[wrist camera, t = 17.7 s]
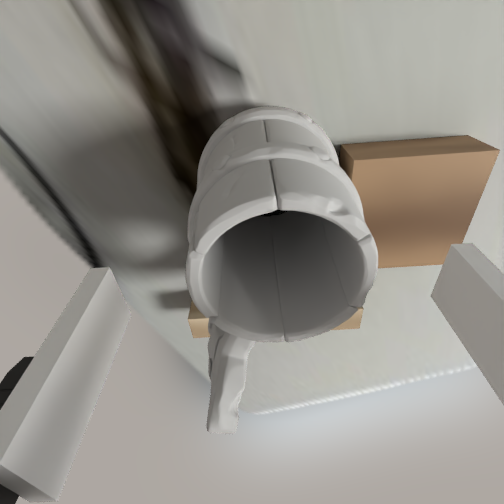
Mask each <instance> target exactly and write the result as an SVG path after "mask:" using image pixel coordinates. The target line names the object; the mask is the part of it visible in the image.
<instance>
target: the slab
mask: <svg viewBox="0 0 504 504" xmlns="http://www.w3.org/2000/svg"><path fill="white" fill-rule="evenodd" d="M499 151H500V150H499V149H496V148H494V147H492V146H490V145H488V144H486V143H483V142H481V141H479V140H477V139H475V138H473V137H471V136H468V135H464V136H451V137H437V138H423V139H409V140H396V141H382V142H368V143H354V144H341V149H340V159H339V166H340V167H341V168H342V169H343V170H344V172H345V173H346V174H347V175H348V177H349V178H350V180H351V181H352V183H353V184H354V186H355V188H356V190H357V192H358V194H359V197H360V200H361V203H362V208H363V215H364V221H365V223H366V225H367V227H368V229H369V230H370V232H371V234H372V236H373V238H374V241H375V243H376V247H377V251H378V268H390V267H407V266H424V265H441V264H444V261H445V259H446V256H447V254H448V251H449V249H450V246H451V244H462V242H463V240H464V237H465V235H466V232H467V230H468V227H469V225H470V223H471V220H472V218H473V215H474V213H475V210H476V208H477V205H478V203H479V200H480V198H481V196H482V193H483V191H484V188H485V186H486V183H487V181H488V178H489V176H490V173H491V171H492V169H493V166H494V164H495V161H496V159H497V156H498V154H499Z"/></svg>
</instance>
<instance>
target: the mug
mask: <svg viewBox="0 0 504 504" xmlns="http://www.w3.org/2000/svg"><path fill="white" fill-rule="evenodd" d="M197 182H198V183H197V191H196V193H195V195H194V198H193V201H192V204H191V207H190V211H189V216H188V233H187V239H188V243H189V249H188V254H187V260H186V269H185V276H186V283H187V287H188V291H189V294H190V296H191V298H192V300H193V302H194V304H195V306H196V307H197V308H198V310H199V311H200V312H201V313H202V314H203V315H204V316H205V317H206V318H209V322H208V332H209V334H210V338H209V342H208V352H209V377H210V379H211V395H210V404H209V410H208V417H207V431H208V432H211V433H225V434H234V433H235V432H236V430H237V424H238V419H239V416H238V405H239V402H240V400H241V395H242V392H243V391H244V388H245V380H246V368H247V360H248V354H249V351H250V350H251V348H252V347H253V346H254V345H255V343H256V341H257V342H283V341H284V337H285V341H286V342H294V341H301V340H303V339H307V338H309V337H313V336H316V335H319V334H322V333H325V332H327V331H330V330H332V329H334V328H335V327H337V326H339V325H340V324H342V323H343V322H345V321H346V320H348V319H349V318H350V317H352V316H353V315H354V314H355V313H356V312H357V311H358V308H357V307H359V308H360V307H362V306H363V304H364V302H365V298H366V295H367V293H368V292H369V290H370V289H371V287H372V286H373V283H374V280H375V278H376V274H377V270H378V251H377V247H376V243H375V241H374V238H373V236H372V234H371V232H370V230H369V229H368V227H367V225H366V223H365V221H364V215H363V208H362V203H361V200H360V197H359V194H358V192H357V190H356V188H355V186H354V184H353V183H352V181H351V180H350V178H349V177H348V175H347V174H346V173H345V172H344V170H343V169H342V168H341V167H340V166H339V161H338V157H337V154H336V151H335V148H334V146H333V144H332V142H331V140H330V139H329V137H328V136H327V134H326V133H325V131H324V130H323V129H322V128H321V127H320V126H319V125H318V124H317V123H315V122H314V121H313V120H312V119H311V118H310V117H309V116H308V115H306V114H304V113H301V112H298V111H295V110H292V109H289V108H284V107H274V106H266V107H257V108H252V109H248V110H245V111H243V112H240V113H238V114H236V115H235V116H233V117H231V118H229V119H227V120H226V121H225V122H224V123H223V124H222V125H221V126H220V127H219V128H218V129H217V130H216V131H215V132H214V133H213V135H212V136H211V137H210V139H209V141H208V143H207V144H206V146H205V148H204V150H203V152H202V155H201V158H200V162H199V167H198V175H197ZM277 209H279V210H290V211H288V212H286V213H283V214H280V215H272V216H270V217H261V216H258V215H262V214H266V213H270V212H273V211H275V210H277Z"/></svg>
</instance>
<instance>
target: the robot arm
mask: <svg viewBox="0 0 504 504" xmlns="http://www.w3.org/2000/svg"><path fill="white" fill-rule="evenodd" d="M431 297H432V299H433V300H434V302H435V303H436V305H437V306H438V308H439V309H440V311H441V312H442V314H443V315H444V317H445V318H446V320H447V321H448V323H449V324H450V326H451V327H452V329H453V330H454V332H455V333H456V335H457V336H458V338H459V339H460V341H461V342H462V344H463V345H464V347H465V348H466V350H467V351H468V353H469V354H470V356H471V357H472V359H473V360H474V362H475V363H476V364H477V366H478V367H479V369H480V370H481V372H482V373H483V375H484V376H485V378H486V379H487V381H488V382H489V384H490V385H491V387H492V388H493V390H494V391H495V393H496V394H497V396H498V397H499V399H500V400H501V402H502V403H503V405H504V274H503V273H502V272H501V271H500V270H499V269H498V268H497V267H496V266H495V265H494V264H493V263H492V262H491V261H490V260H489V259H488V258H487V257H486V256H485V255H484V254H483V253H482V252H481V251H480V250H479V249H478V248H477V247H476V246H475V245H474V244H473V243H464V244H451V246H450V249H449V251H448V254H447V256H446V259H445V261H444V264H443V266H442V269H441V271H440V274H439V276H438V279H437V281H436V284H435V286H434V289H433V291H432V294H431ZM131 315H132V314H131V311H130V309H129V307H128V305H127V303H126V301H125V299H124V297H123V294H122V292H121V290H120V288H119V286H118V284H117V282H116V280H115V277H114V275H113V273H112V271H111V269H110V267H104V268H90V270H89V272H88V273H87V275H86V277H85V278H84V280H83V281H82V283H81V284H80V286H79V288H78V289H77V291H76V292H75V294H74V295H73V297H72V298H71V300H70V302H69V303H68V305H67V306H66V308H65V309H64V311H63V313H62V314H61V316H60V317H59V319H58V321H57V322H56V323H55V325H54V327H53V328H52V330H51V331H50V333H49V334H48V336H47V338H46V339H45V341H44V342H43V344H42V346H41V347H40V349H39V350H38V352H37V353H36V355H35V356H34V357H24V358H23V359H22V360H21V361H20V362H19V363H17V365H15V366H14V367H13V368H12V369H11V370H10V371H9V372H8V373H7V374H6V376H5V377H4V379H3V380H2V382H1V383H0V504H15V503H16V501H17V499H18V497H19V496H20V497H22V498H24V499H25V500H27V501H29V502H52V501H58V499H59V497H60V494H61V492H62V489H63V487H64V484H65V482H66V479H67V477H68V474H69V472H70V469H71V467H72V464H73V461H74V459H75V456H76V454H77V451H78V449H79V446H80V444H81V441H82V438H83V436H84V434H85V431H86V429H87V426H88V423H89V421H90V419H91V416H92V413H93V411H94V408H95V406H96V403H97V401H98V398H99V396H100V393H101V391H102V388H103V386H104V383H105V381H106V378H107V376H108V373H109V371H110V368H111V365H112V363H113V360H114V358H115V355H116V353H117V350H118V347H119V345H120V343H121V340H122V338H123V335H124V332H125V330H126V328H127V325H128V323H129V320H130V317H131Z"/></svg>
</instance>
